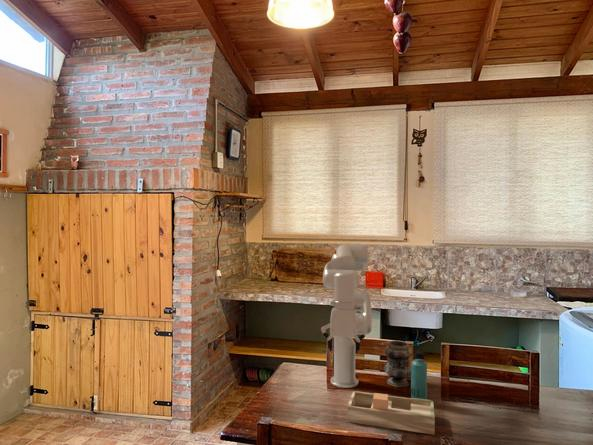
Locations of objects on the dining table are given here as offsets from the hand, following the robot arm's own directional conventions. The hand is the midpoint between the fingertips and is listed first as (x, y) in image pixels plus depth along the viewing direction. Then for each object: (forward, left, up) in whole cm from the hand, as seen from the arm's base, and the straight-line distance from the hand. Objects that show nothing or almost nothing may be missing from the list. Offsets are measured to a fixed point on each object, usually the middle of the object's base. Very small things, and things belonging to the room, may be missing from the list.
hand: (343, 351), depth 152 cm
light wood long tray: (-3, +17, -24) cm, 30 cm away
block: (0, +14, -20) cm, 24 cm away
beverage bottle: (-21, +27, -24) cm, 42 cm away
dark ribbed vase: (-38, +18, -24) cm, 48 cm away
